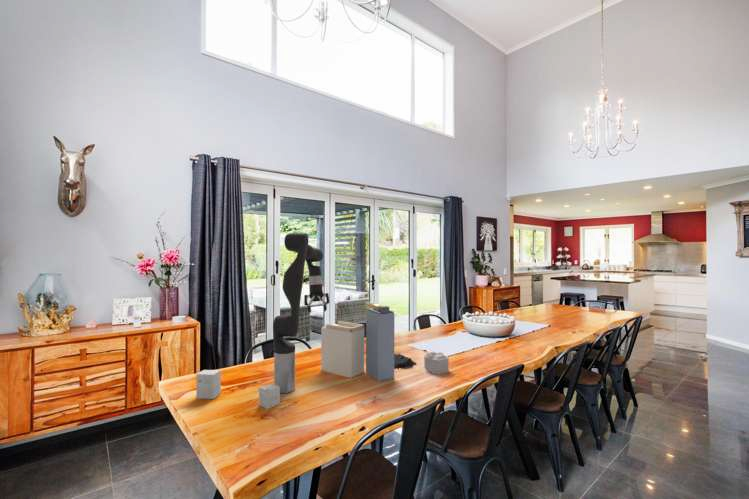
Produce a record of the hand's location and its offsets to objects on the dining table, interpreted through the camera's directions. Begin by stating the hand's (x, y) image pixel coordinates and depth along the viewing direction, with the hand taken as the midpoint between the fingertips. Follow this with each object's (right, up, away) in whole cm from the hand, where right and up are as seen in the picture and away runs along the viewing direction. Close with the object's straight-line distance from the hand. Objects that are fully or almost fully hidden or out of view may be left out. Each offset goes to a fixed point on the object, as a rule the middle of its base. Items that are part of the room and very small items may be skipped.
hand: (317, 312), depth 203 cm
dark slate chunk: (+45, -29, -4) cm, 53 cm away
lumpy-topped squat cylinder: (+65, -28, -16) cm, 73 cm away
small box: (-39, -27, -52) cm, 70 cm away
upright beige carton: (+16, -28, -19) cm, 37 cm away
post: (+36, -28, -25) cm, 51 cm away
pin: (+33, +4, -19) cm, 39 cm away
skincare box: (-10, -27, -60) cm, 67 cm away
